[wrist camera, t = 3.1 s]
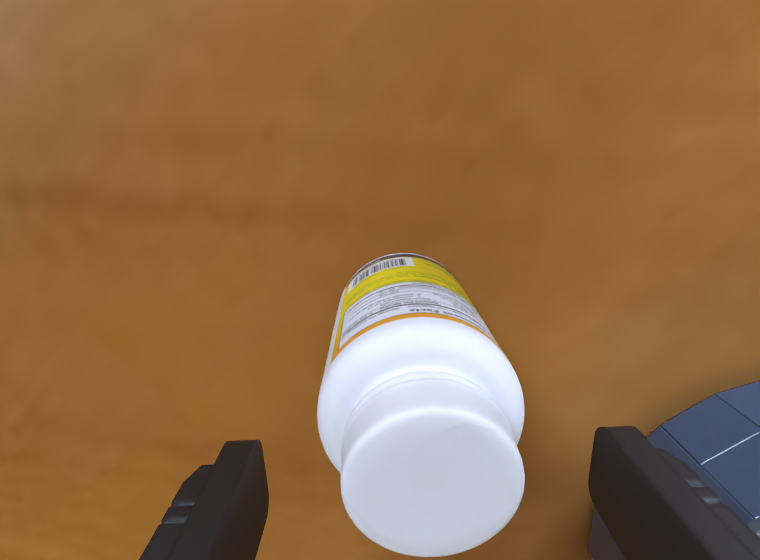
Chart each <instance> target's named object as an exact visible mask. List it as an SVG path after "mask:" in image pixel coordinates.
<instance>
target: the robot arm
mask: <svg viewBox="0 0 760 560" xmlns="http://www.w3.org/2000/svg"><path fill="white" fill-rule="evenodd" d="M589 491H590V496H591V499H592V502H593V504H594V506H595V508H596V510H597V512H598V513H599V515H600V517H601V518H602V520H603V522H604V523H605V525H606V526H607V528H608V530H609V531H610V533H611V535H612V536H613V538H614V539H615V541H616V543H617V544H618V546H619V548H620V549H621V551H622V552H623V554H624V556H625V557H626V559H627V560H760V537H759V536H758V535H757V534H756V533H755V532H754V531H753V530H752V529H751V528H750V527H749V526H748V525H747V524H746V523H745V522H744V521H743V520H742V519H741V518H740V517H739V516H738V515H737V514H736V513H735V512H734V511H733V510H732V509H731V508H730V507H729V506H728V505H727V504H726V503H724V504H723V502H722V499H721V498H720V497H719V496H718V495H717V494H716V493H715V492H714V491H713V490H712V489H711V488H710V487H707V486H706V484H705V482H704V481H703V480H702V479H701V478H700V477H699V476H698V475H697V474H696V473H695V472H694V471H693V470H692V469H691V468H690V467H689V466H688V465H687V464H686V463H685V462H683V461H681V460H680V459H678V458H677V457H675V456H674V455H672V454H670V453H669V452H667V451H666V450H664V449H662V448H655V447H654V446H653V445H652V444H651V443H650V442H649V441H648V440H647V439H646V438H645V436H644V435H643V434H642V433H641V432H640V431H639V430H638V429H637V428H635V427H633V426H618V427H599V428H598V429H597V430H596V432H595V436H594V443H593V450H592V458H591V465H590V472H589ZM268 505H269V492H268V484H267V477H266V471H265V464H264V457H263V450H262V445H261V442H260V440H241V441H227V442H226V443H225V444H224V446H223V448H222V450H221V452H220V454H219V456H218V457H217V459H216V461H215V463H214V465H201V466H200V467H199V468H198V469H197V470H196V471H195V472H194V473H193V474H192V475H191V476H190V477H189V478H188V479H186V480H185V481H184V482H183V484H182V485H181V487H180V489H179V491H178V492H177V494H176V496H175V498H174V499H173V501H172V505H171V507H169V508H168V510H167V512H166V513H165V515H164V517H163V519H162V523H161V525H159V526H158V528H157V529H156V531H155V533H154V535H153V536H152V538H151V540H150V542H149V543H148V545H147V547H146V549H145V550H144V552H143V554H142V556H141V557H140V559H139V560H255V558H256V554H257V551H258V547H259V544H260V540H261V537H262V533H263V530H264V526H265V523H266V519H267V514H268Z"/></svg>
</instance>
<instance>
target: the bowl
mask: <svg viewBox="0 0 760 560" xmlns="http://www.w3.org/2000/svg"><path fill="white" fill-rule="evenodd" d="M646 439H647V440H648V441H649V442H650V443H651V444H652V445H653V446H654V447H655V448H662V449H664V450H666V451H667V452H669V453H670V454H672V455H674V456H675V457H677V458H678V459H680V460H681V461H683V462H685V463H686V464H687V465H688V466H689V467H690V468H691V469H692V470H693V471H694V472H695V473H696V474H697V475H698V476H699V477H700V478H701V479H702V480H703V481H704V482H705V484H706V486H707V487H710V488H711V489H712V490H713V491H714V492H715V493H716V494H717V495H718V496H719V497H720V498H721V499H722V502H723V504H724V503H726V504H727V505H728V506H729V507H730V508H731V509H732V510H733V511H734V512H735V513H736V514H737V515H738V516H739V517H740V518H741V519H742V520H743V521H744V522H745V523H746V524H747V525H748V526H749V527H750V528H751V529H752V530H753V531H754V532H755V533H756V534H757V535H758V536H759V537H760V381H757V382H753V383H750V384H747V385H743V386H740V387H736V388H733V389H730V390H726V391H723V392H719V393H716V394H715V395H712V396H710V397H708V398H706V399H705V400H703V401H701V402H700V403H698V404H696V405H694V406H693V407H691V408H689V409H687V410H686V411H684V412H682V413H680V414H679V415H677V416H675V417H673V418H672V419H670V420H668V421H666V422H665V423H663V424H661V426H659V427H658V428H657V429H656V430H655V431H654V432H653V433H652V434H650V435H649V436H648V437H647V438H646ZM588 552H589V555H590V559H591V560H627V559H626V557H625V556H624V554H623V552H622V551H621V549H620V548H619V546H618V544H617V543H616V541H615V539H614V538H613V536H612V535H611V533H610V531H609V530H608V528H607V526H606V525H605V523H604V522H603V520H602V518H601V517H600V515H599V513H598V512H597V510H596V508H594V512H593V518H592V525H591V531H590V537H589V543H588Z"/></svg>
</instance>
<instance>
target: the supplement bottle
mask: <svg viewBox="0 0 760 560" xmlns="http://www.w3.org/2000/svg"><path fill="white" fill-rule="evenodd" d="M317 421H318V430H319V435H320V438H321V441H322V444H323V446H324V449H325V452H326V453H327V455H328V457H329V459H330V460H331V462H332V463H333V465H334V466H335V467H336V469H337V470H338V471H339V472H340V473H341V494H342V499H343V503H344V506H345V509H346V511H347V513H348V515H349V517H350V518H351V520H352V521H353V522H354V524H355V525H356V527H357V528H358V529H359V530H360V531H361V532H362V533H363V534H364V535H366V536H367V537H368V538H369V539H370V540H372V541H373V542H375V543H377V544H379V545H380V546H382V547H384V548H387V549H389V550H391V551H394V552H397V553H401V554H405V555H410V556H417V557H442V556H448V555H453V554H458V553H461V552H464V551H467V550H469V549H472V548H475V547H477V546H478V545H480V544H482V543H484V542H486V541H487V540H489V539H491V538H492V537H493V536H495V535H496V534H497V533H498V532H499V531H500V530H502V529H503V528H504V527H505V526H506V525H507V523H508V522H509V521H510V520H511V518H512V517H513V516H514V514H515V512H516V511H517V509H518V507H519V504H520V502H521V499H522V496H523V492H524V484H525V473H524V466H523V462H522V458H521V455H520V453H519V450H518V448H517V445H518V442H519V440H520V436H521V433H522V429H523V423H524V399H523V393H522V389H521V385H520V382H519V380H518V378H517V375H516V373H515V371H514V369H513V367H512V366H511V364H510V362H509V360H508V358H507V357H506V355H505V354H504V352H503V351H502V349H501V348H500V346H499V345H498V343H497V342H496V340H495V339H494V337H493V335H492V334H491V332H490V330H489V329H488V327H487V326H486V324H485V323H484V321H483V320H482V318H481V316H480V315H479V313H478V312H477V310H476V308H475V307H474V305H473V304H472V302H471V301H470V299H469V297H468V296H467V294H466V293H465V291H464V289H463V288H462V286H461V284H460V283H459V282H458V280H457V279H456V278H455V276H454V275H453V274H452V273H451V272H450V271H449V270H448V269H447V268H445V267H444V266H443V265H441V264H440V263H438V262H436V261H435V260H433V259H430V258H428V257H425V256H422V255H418V254H411V253H396V254H390V255H386V256H383V257H380V258H377V259H375V260H373V261H371V262H369V263H368V264H366V265H365V266H363V267H362V268H361V269H360V270H358V271H357V272H356V273H355V274H354V276H353V277H352V278H351V279H350V281H349V282H348V284H347V285H346V287H345V289H344V291H343V294H342V296H341V299H340V303H339V307H338V311H337V316H336V320H335V325H334V329H333V333H332V338H331V343H330V348H329V352H328V357H327V361H326V366H325V370H324V375H323V379H322V383H321V388H320V393H319V398H318V407H317Z"/></svg>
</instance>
